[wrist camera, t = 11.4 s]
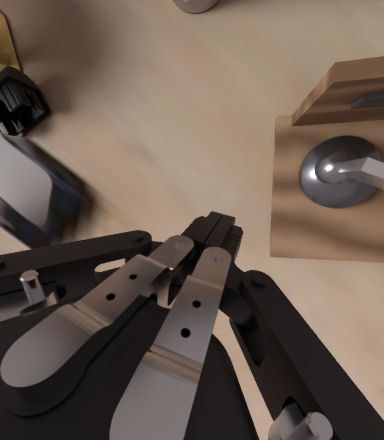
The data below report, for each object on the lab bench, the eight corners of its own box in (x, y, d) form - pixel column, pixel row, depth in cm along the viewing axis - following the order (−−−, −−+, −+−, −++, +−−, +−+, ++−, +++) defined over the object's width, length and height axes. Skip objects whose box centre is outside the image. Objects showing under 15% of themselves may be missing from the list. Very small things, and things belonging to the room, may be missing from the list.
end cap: (36, 78, 40) (-3, 57, 33) (54, 111, 40) (19, 98, 34) (3, 107, 43) (-39, 93, 36) (21, 139, 43) (-18, 131, 36)
